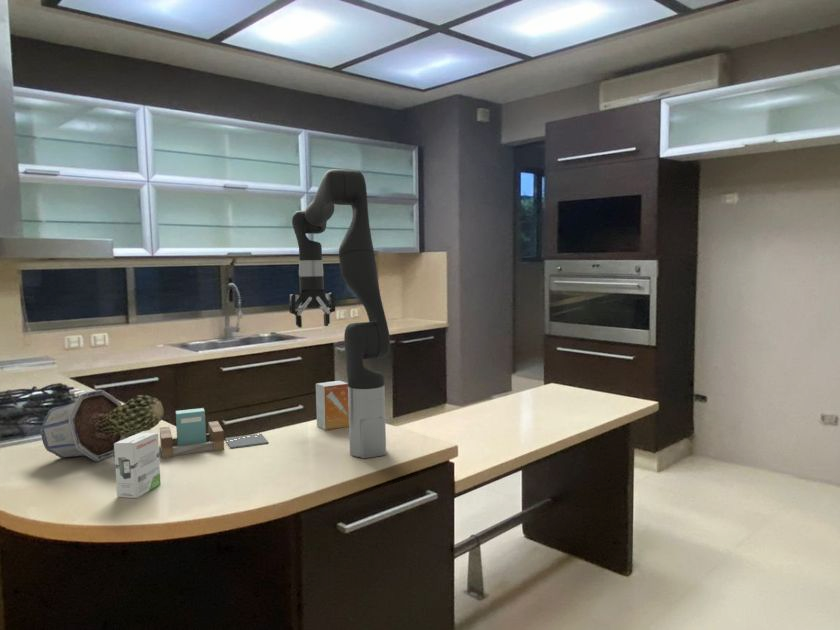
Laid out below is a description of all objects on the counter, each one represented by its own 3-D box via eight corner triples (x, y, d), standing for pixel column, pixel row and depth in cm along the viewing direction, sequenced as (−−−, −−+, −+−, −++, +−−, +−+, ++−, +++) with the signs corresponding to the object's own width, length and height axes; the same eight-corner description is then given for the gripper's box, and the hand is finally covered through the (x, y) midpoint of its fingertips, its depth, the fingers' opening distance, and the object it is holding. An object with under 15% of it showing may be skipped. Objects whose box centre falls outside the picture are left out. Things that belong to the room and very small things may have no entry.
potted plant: (22, 408, 151) (126, 380, 144) (77, 396, 168) (172, 371, 162) (38, 477, 150) (143, 453, 144) (92, 458, 168) (187, 436, 162)
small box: (325, 430, 179) (324, 386, 178) (316, 426, 184) (315, 383, 183) (350, 426, 183) (349, 383, 182) (340, 422, 189) (339, 380, 188)
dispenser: (224, 449, 162) (223, 430, 162) (162, 457, 156) (161, 438, 155) (218, 438, 173) (217, 420, 172) (160, 445, 167) (159, 427, 166)
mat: (268, 443, 167) (268, 441, 167) (230, 448, 163) (230, 447, 163) (261, 434, 176) (261, 433, 176) (225, 439, 172) (224, 438, 172)
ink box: (142, 483, 137) (139, 431, 136) (162, 484, 136) (159, 432, 135) (116, 497, 129) (112, 442, 128) (137, 498, 128) (133, 443, 127)
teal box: (206, 447, 164) (204, 411, 163) (178, 451, 161) (176, 414, 160) (205, 444, 168) (203, 407, 167) (177, 447, 165) (175, 410, 164)
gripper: (292, 275, 186) (294, 329, 187) (336, 274, 193) (338, 326, 194) (285, 275, 193) (287, 327, 194) (329, 274, 199) (330, 324, 201)
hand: (313, 326), depth 194 cm, fingers open, 8 cm apart
